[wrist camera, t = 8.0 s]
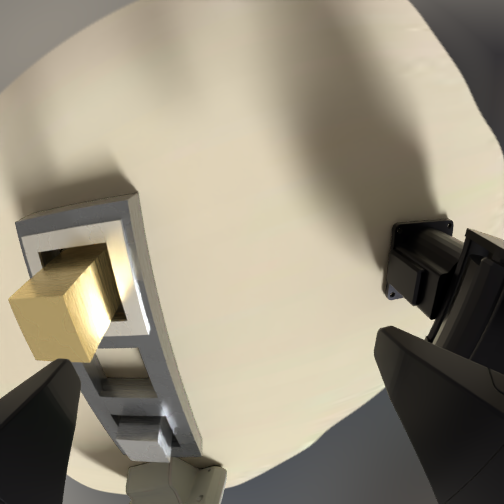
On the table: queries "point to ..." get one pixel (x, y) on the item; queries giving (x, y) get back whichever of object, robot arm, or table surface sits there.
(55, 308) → the brass peg
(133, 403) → the rail
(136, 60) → the table surface
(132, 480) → the digital clock
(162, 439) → the steel peg
